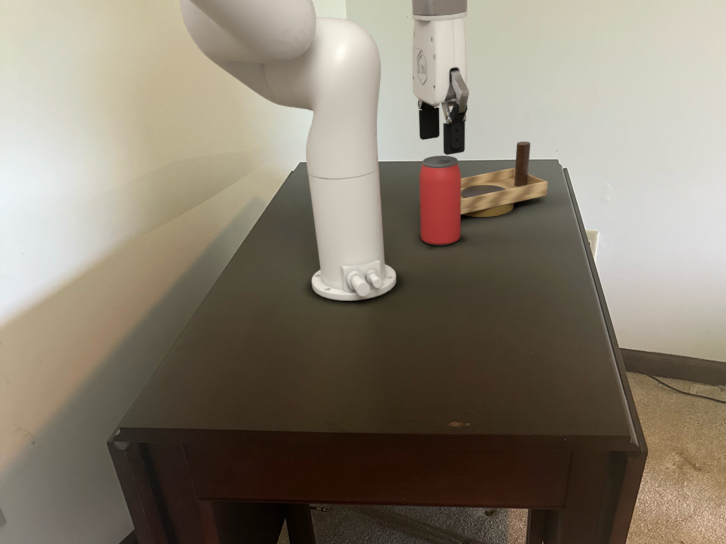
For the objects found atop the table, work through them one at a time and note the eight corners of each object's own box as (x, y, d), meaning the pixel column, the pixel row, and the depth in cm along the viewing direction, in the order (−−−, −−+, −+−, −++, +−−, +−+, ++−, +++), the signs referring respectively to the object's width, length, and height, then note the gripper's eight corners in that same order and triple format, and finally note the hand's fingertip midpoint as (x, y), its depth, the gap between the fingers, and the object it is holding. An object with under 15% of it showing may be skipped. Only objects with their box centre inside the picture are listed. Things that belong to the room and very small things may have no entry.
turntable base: (524, 211, 121) (524, 202, 120) (468, 220, 119) (468, 211, 118) (497, 194, 129) (497, 185, 128) (444, 203, 126) (444, 194, 125)
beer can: (468, 238, 112) (469, 158, 104) (442, 250, 109) (442, 168, 101) (438, 230, 116) (437, 152, 107) (412, 241, 112) (410, 162, 104)
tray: (451, 216, 116) (451, 167, 111) (421, 200, 123) (420, 153, 118) (546, 195, 122) (551, 147, 117) (512, 180, 129) (515, 135, 124)
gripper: (392, 1, 96) (399, 136, 108) (438, 12, 84) (440, 163, 96) (440, -5, 98) (442, 129, 110) (492, 6, 86) (488, 155, 98)
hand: (441, 145), depth 103 cm, fingers open, 9 cm apart
